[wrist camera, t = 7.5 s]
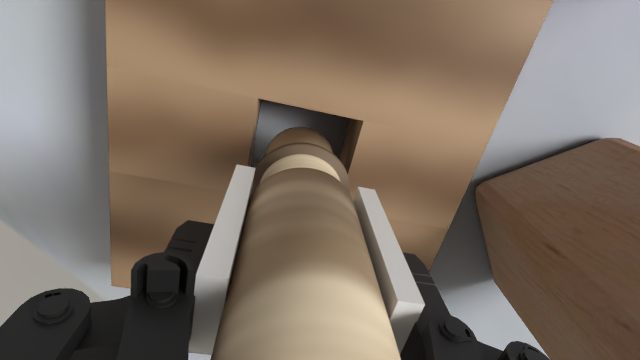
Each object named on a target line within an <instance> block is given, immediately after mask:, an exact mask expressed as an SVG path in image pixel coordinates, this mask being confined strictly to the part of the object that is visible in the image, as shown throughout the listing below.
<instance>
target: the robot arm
mask: <svg viewBox="0 0 640 360" xmlns="http://www.w3.org/2000/svg"><path fill="white" fill-rule="evenodd" d="M254 174H255V168H253V167H248V166H242V165H236V168H235V171H234V173H233V176H232V179H231V181H230V184H229V187H228V189H227V192H226V195H225V198H224V200H223V203H222V206H221V208H220V211H219V214H218V216H217V219H216V222H215V224H210V223H204V222H198V221H191V220H187V221H186V222H184V223H183V224H182V225H180V226H179V227H177V228H176V230H175V232H174V234H173V236H172V238H171V240H170V241H169V243H168V245H167V248H166V249H165V251H164V252H161V253H153V254H150V255H148V256H145V257H143V258H141V259H140V260H139V261H137V262H136V263H135V264H134V266H133V268H132V269H131V295H130V296H127V297H124V298H121V299H116V300H110V301H102V302H93V303H90V300H89V297H88V296H87V295H86V294H84V293H83V292H82V291H78V290H75V289H55V290H50V291H45V292H43V293H40V294H38V295H36V296H34V297H32V298H30V299H29V300H27V301H26V302H25V303H24V304H22V305H21V306H20V307H19V308H18V309H17V310H16V311H15V312H14V313H13V314H12V315H11V316H10V317H9V318H8V319H7V320H6V322H5V323H4V324H3V325H2V326H1V327H0V360H188V353H198V354H208V355H212V352H213V348H214V343H215V339H216V335H217V331H218V327H219V323H220V318H221V314H222V311H223V309H224V305H225V301H226V297H227V292H228V288H229V284H230V280H231V275H232V271H233V267H234V263H235V259H236V254H237V250H238V246H239V242H240V237H241V233H242V229H243V225H244V220H245V216H246V212H247V208H248V204H249V199H250V197H251V192H252V186H253V180H254ZM353 202H354V205H355V208H356V212H357V215H358V218H359V221H360V225H361V228H362V231H363V235H364V238H365V241H366V245H367V248H368V251H369V255H370V258H371V261H372V265H373V268H374V271H375V275H376V278H377V281H378V285H379V288H380V291H381V295H382V298H383V301H384V304H385V308H386V311H387V314H388V318H389V321H390V324H391V328H392V331H393V334H394V338H395V341H396V344H397V348H398V351H399V354H400V358H401V360H550V359H549V358H548V357H547V356H546V355H544V354H543V353H542V352H540V351H539V350H538V349H536V348H535V347H533V346H531V345H529V344H527V343H523V342H519V341H515V342H510V343H509V344H508V345H507V347H506V348H505V350H504V351H501V350H499V349H496V348H494V347H491V346H488V345H486V344H483V343H481V342H479V341H477V339H476V337H475V335H474V333H473V331H472V330H471V329H470V328H469V327H468V326H467V325H466V324H465V323H463V322H462V321H461V320H459V319H458V318H456V317H453V316H451V315H450V313H449V311H448V309H447V307H446V305H445V303H444V301H443V299H442V297H441V295H440V293H439V292H438V290H437V288H436V286H434V282H433V280H432V278H431V277H430V274H429V272H428V270H427V268H426V266H425V264H424V263H423V262H422V261H421V260H420V259H419V258H418V257H417V256H416V255H415V254H409V253H403V252H402V251H401V248H400V246H399V244H398V241H397V239H396V237H395V235H394V232H393V230H392V228H391V225H390V223H389V221H388V219H387V216H386V214H385V212H384V209H383V207H382V205H381V203H380V200H379V198H378V196H377V193H376V191H375V190H374V189H368V188H363V187H358V188H357V191H356V195H355V198H354V201H353Z"/></svg>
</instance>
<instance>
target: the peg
mask: <svg viewBox="0 0 640 360" xmlns="http://www.w3.org/2000/svg"><path fill="white" fill-rule="evenodd" d="M211 360H401V358H400V354H399V351H398V348H397V344H396V341H395V338H394V334H393V331H392V328H391V324H390V321H389V318H388V314H387V311H386V308H385V304H384V301H383V298H382V295H381V291H380V288H379V285H378V281H377V278H376V275H375V271H374V268H373V265H372V261H371V258H370V255H369V251H368V248H367V245H366V241H365V238H364V235H363V231H362V228H361V225H360V221H359V218H358V215H357V212H356V208H355V205H354V202H353V199H352V196H351V194H350V181H349V177H348V174H347V172H346V169H345V167H344V165H343V164H342V162H341V161H340V160H339V159H338V158H337V157H336V156H335V155H334V154H333V151H332V148H331V146H330V144H329V142H328V141H327V139H326V138H325V137H324V136H323V135H321V134H320V133H318V132H317V131H315V130H312V129H309V128H304V127H295V128H290V129H287V130H284V131H282V132H280V133H279V134H278V135H276V136H275V137H274V138H273V139H272V141H271V142H270V144H269V145H268V148H267V150H266V154H265V156H264V157H263V158H262V159H261V161H260V162H259V163H258V165H257V166H256V168H255V174H254V180H253V186H252V192H251V197H250V199H249V204H248V208H247V212H246V216H245V220H244V225H243V229H242V233H241V237H240V242H239V246H238V250H237V254H236V259H235V263H234V267H233V271H232V275H231V280H230V284H229V288H228V292H227V297H226V301H225V305H224V309H223V311H222V314H221V318H220V323H219V327H218V331H217V335H216V339H215V343H214V348H213V352H212V356H211Z"/></svg>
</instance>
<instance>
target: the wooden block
mask: <svg viewBox="0 0 640 360" xmlns="http://www.w3.org/2000/svg"><path fill="white" fill-rule="evenodd" d="M475 198H476V204H477V208H478V212H479V217H480V221H481V226H482V230H483V234H484V239H485V243H486V247H487V252H488V256H489V261H490V265H491V269H492V274H493V278H494V282H495V283H496V285H497V286H498V287H499V289H500V290H501V292H502V293H503V294H504V296H505V297H506V298H507V300H508V301H509V303H510V304H511V305H512V307H513V308H514V310H515V311H516V312H517V314H518V315H519V317H520V318H521V319H522V321H523V322H524V324H525V325H526V326H527V328H528V329H529V330H530V332H531V333H532V335H533V336H534V337H535V339H536V340H537V342H538V343H539V344H540V346H541V347H542V349H543V350H544V351H545V353H546V354H547V355H548V357H549V358H550V360H640V147H639V146H637V145H635V144H632V143H630V142H627V141H625V140H622V139H620V138H605V139H599V140H596V141H593V142H590V143H588V144H585V145H582V146H579V147H577V148H574V149H571V150H569V151H566V152H563V153H560V154H558V155H555V156H552V157H549V158H547V159H544V160H541V161H538V162H536V163H533V164H530V165H528V166H525V167H522V168H519V169H517V170H514V171H511V172H508V173H506V174H503V175H500V176H497V177H495V178H492V179H489V180H487V181H484V182H482V183H481V184H480V185H478V186H477V187H476V192H475Z"/></svg>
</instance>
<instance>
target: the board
mask: <svg viewBox="0 0 640 360" xmlns="http://www.w3.org/2000/svg"><path fill="white" fill-rule="evenodd" d="M552 2H553V0H105V17H106V61H107V105H108V150H109V194H110V238H111V283H112V286H116V287H124V288H131V269H132V268H133V266H134V264H135V263H136V262H137V261H139V260H140V259H141V258H143V257H145V256H148V255H150V254H153V253H161V252H164V251H165V249H166V248H167V245H168V243H169V241H170V240H171V238H172V236H173V234H174V232H175V230H176V228H177V227H179V226H180V225H182V224H183V223H184V222H186V221H187V220H191V221H198V222H204V223H210V224H215V222H216V219H217V216H218V214H219V211H220V208H221V206H222V203H223V200H224V198H225V195H226V192H227V189H228V187H229V184H230V181H231V179H232V176H233V173H234V171H235V168H236V165H242V166H248V167H250V166H251V160H252V154H253V148H254V141H255V135H256V129H257V123H258V117H259V111H260V104H261V99H263V100H268V101H272V102H277V103H282V104H287V105H291V106H296V107H301V108H305V109H310V110H315V111H319V112H324V113H329V114H333V115H338V116H343V117H347V118H350V121H349V124H348V128H347V132H346V135H345V139H344V143H343V146H342V150H341V153H340V157H339V160H340V161H341V162H342V164H343V165H344V167H345V169H346V172H347V174H348V177H349V181H350V194H351V196H352V199H353V201H354V198H355V195H356V191H357V188H358V187H363V188H368V189H374V190H375V191H376V193H377V196H378V198H379V200H380V203H381V205H382V207H383V209H384V212H385V214H386V216H387V219H388V221H389V223H390V225H391V228H392V230H393V232H394V235H395V237H396V239H397V241H398V244H399V246H400V248H401V251H402V252H403V253H409V254H415V255H416V256H417V257H418V258H419V259H420V260H421V261H422V262H423V263H424V264H425V266H426V268H427V270H428V272H429V270H430V268H431V266H432V264H433V262H434V259H435V257H436V255H437V253H438V251H439V248H440V246H441V244H442V242H443V240H444V238H445V235H446V233H447V231H448V229H449V227H450V225H451V222H452V220H453V218H454V216H455V214H456V211H457V209H458V207H459V205H460V203H461V201H462V198H463V196H464V194H465V192H466V190H467V187H468V185H469V183H470V181H471V179H472V177H473V174H474V172H475V170H476V168H477V166H478V163H479V161H480V159H481V157H482V155H483V153H484V150H485V148H486V146H487V144H488V142H489V140H490V137H491V135H492V133H493V131H494V129H495V126H496V124H497V122H498V120H499V118H500V116H501V113H502V111H503V109H504V107H505V105H506V102H507V100H508V98H509V96H510V94H511V92H512V89H513V87H514V85H515V83H516V81H517V79H518V76H519V74H520V72H521V70H522V68H523V65H524V63H525V61H526V59H527V57H528V55H529V52H530V50H531V48H532V46H533V44H534V41H535V39H536V37H537V35H538V33H539V31H540V28H541V26H542V24H543V22H544V20H545V18H546V15H547V13H548V11H549V9H550V7H551V4H552Z"/></svg>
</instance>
